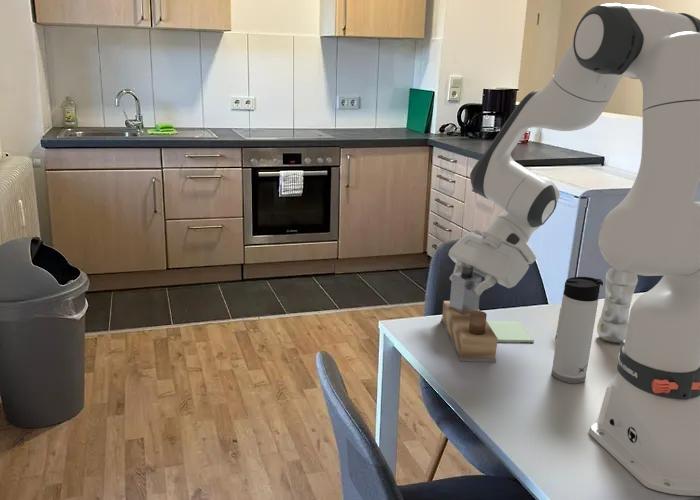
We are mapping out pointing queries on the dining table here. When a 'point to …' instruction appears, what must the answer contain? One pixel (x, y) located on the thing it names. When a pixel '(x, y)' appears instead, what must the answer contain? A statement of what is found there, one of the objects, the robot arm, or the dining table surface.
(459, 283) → the lever cap
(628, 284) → the plastic bottle
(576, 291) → the travel mug
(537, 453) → the dining table surface
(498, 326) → the felt mat
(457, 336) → the plane body
